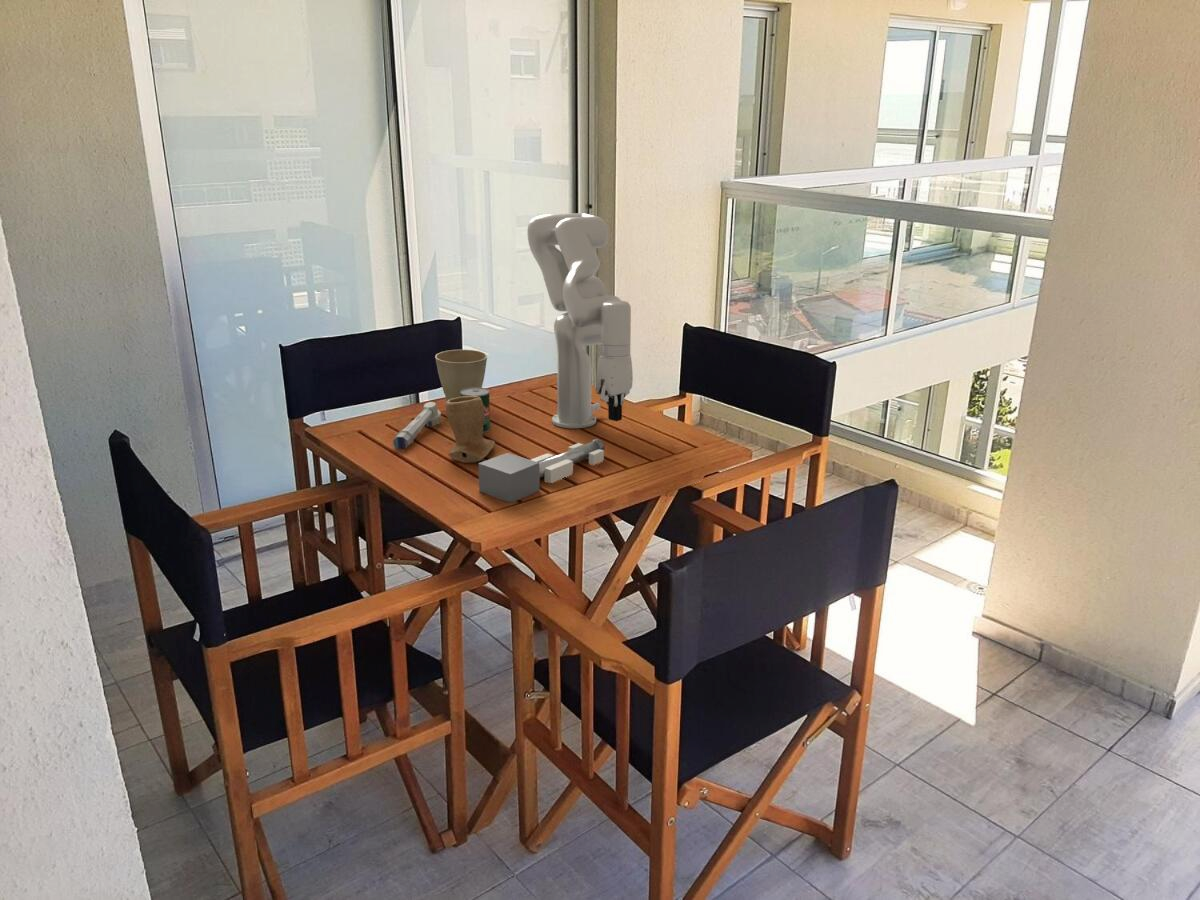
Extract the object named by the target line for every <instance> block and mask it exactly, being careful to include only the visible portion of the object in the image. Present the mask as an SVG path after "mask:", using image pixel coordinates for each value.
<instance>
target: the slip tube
mask: <svg viewBox="0 0 1200 900" xmlns="http://www.w3.org/2000/svg"><path fill="white" fill-rule="evenodd" d="M598 449H601V450H604V451H605V444H604V442H603V441H602V440H601V439H599V438H595V439H592V440H590V441H589V442H587V443H586V444H583V446H580V447H577V448H575V449H572V450H570V451H568V450H567V451H565V452H562V453H560V454H557V455H555V456H554V455H553V457H552V458H549V459H547V460H544V461H542V462H539V479H540V478H542V477H545V468H546V467H549V466H551V465H554V464H556V463H559V462H561V461H564V460H566V459H567V460H571V461H573V465H574V464H577V463H579V462H581V461H584V460H586V459H589V453H590V452H593V451H595V450H598Z"/></svg>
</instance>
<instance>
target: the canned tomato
mask: <svg viewBox="0 0 1200 900" xmlns="http://www.w3.org/2000/svg"><path fill="white" fill-rule="evenodd" d="M460 393H461V397H463V396H478V397H480V398H481V400H482V402H483V406H484V414H485V419H484V424H483V434H486V433H489V431H491V417H490V416H491V413H490V412H491V409H490V408H491V406H490V405H491V402H490V401H491V400H490V390H489V388H488V389H487V388H485V387H482V388H480V387H472V388H466V389H463V390H461V392H460Z"/></svg>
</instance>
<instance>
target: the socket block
mask: <svg viewBox="0 0 1200 900" xmlns="http://www.w3.org/2000/svg"><path fill="white" fill-rule="evenodd" d="M478 491H479V492H480V493H482V494H485V495H488V496H491V497H493V498H497V499H499V500H501V501H504V502H507V503H512V504H513V503H514V502H517V501H518V500H519V501H520V500H521V499H523V498H526V497H528V496H531V495H534V494H535V492H536V493H538V492H540V478H539V463H538V462H535V461H532V460H531V459H528V458H525V457H522V456H519V455H515V454H512V453H509V452H506V453H503V454H500V455H497V456H495V457H492V458H489V459H487V460H484V461H483V460H482V462H479V463H478ZM537 491H538V492H537Z"/></svg>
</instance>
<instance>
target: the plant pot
mask: <svg viewBox="0 0 1200 900" xmlns="http://www.w3.org/2000/svg"><path fill="white" fill-rule="evenodd" d="M434 358H435V363H436V369H437V374H438V377H439V381H440V385H441V389H442V391H443V393H444V396H445V398H446V402H447V401H448V400H450V399H452V398H457V397H461V393H460V392H461V390H463V389H466V388H472V387H480V388H483V385H484V384H483V383H484V379H485V375H486V368H487V360H488V355H487V353H485V352H483V351H481V350H476V349H475V350H473V349H451V350H445V351H441V352H439V353H436V354H435V357H434Z"/></svg>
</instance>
